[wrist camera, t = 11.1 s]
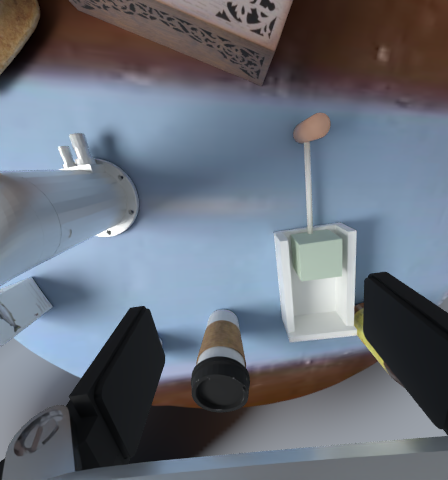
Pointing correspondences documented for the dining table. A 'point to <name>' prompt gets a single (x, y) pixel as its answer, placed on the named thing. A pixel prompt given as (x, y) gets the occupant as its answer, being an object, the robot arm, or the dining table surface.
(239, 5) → the tissue box cover
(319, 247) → the sliding handle
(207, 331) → the coffee cup
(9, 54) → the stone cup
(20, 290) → the supplement box
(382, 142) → the dining table surface
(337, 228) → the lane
